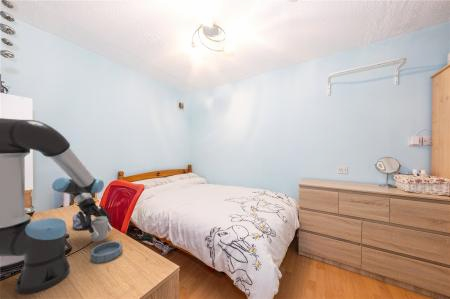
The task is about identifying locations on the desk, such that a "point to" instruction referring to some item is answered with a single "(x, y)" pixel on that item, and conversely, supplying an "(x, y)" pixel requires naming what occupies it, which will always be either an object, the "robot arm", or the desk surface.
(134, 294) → the desk surface
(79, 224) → the mineral
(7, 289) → the desk surface
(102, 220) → the can
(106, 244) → the bowl
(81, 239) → the desk surface
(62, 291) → the desk surface
